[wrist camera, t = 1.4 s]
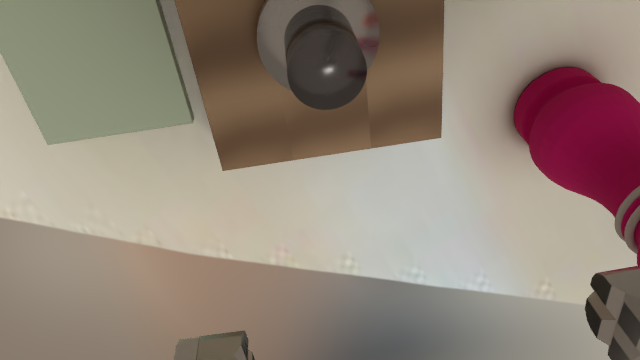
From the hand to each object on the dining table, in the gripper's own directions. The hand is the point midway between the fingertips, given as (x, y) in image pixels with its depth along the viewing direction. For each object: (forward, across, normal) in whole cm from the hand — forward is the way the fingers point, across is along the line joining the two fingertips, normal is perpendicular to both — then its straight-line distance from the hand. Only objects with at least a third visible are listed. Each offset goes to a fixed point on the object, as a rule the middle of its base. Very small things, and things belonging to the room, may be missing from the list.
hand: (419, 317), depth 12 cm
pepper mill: (+25, -16, +9) cm, 31 cm away
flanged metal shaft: (+24, +1, -1) cm, 25 cm away
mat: (+24, +15, -1) cm, 29 cm away
